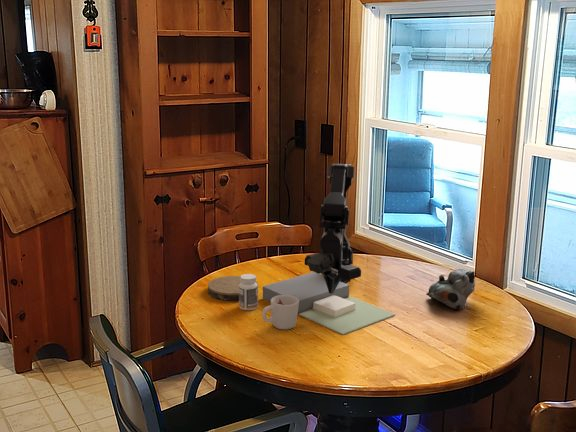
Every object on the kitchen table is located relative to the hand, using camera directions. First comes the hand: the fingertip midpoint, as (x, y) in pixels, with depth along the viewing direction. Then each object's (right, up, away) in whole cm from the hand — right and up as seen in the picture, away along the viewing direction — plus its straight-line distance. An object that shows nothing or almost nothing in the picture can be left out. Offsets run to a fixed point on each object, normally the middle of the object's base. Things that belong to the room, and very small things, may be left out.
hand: (331, 293), depth 208 cm
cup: (-15, -8, -13) cm, 22 cm away
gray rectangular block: (-7, -2, +9) cm, 12 cm away
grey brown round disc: (-30, -2, +13) cm, 33 cm away
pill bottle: (-25, -5, +1) cm, 25 cm away
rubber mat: (+5, -6, -4) cm, 8 cm away
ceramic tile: (+1, -5, 0) cm, 5 cm away
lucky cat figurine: (+37, -4, +7) cm, 38 cm away
